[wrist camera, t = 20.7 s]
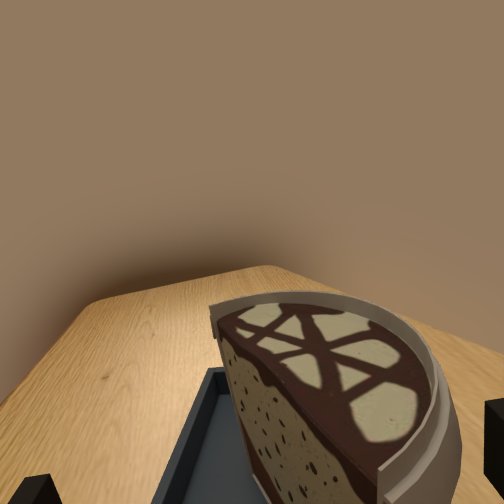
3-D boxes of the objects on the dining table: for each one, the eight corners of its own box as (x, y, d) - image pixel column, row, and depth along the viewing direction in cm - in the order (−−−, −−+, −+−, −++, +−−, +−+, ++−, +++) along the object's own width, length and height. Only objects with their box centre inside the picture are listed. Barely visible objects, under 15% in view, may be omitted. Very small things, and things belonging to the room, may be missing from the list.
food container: (544, 617, 12) (567, 368, 9) (419, 765, 10) (400, 491, 7) (324, 410, 23) (304, 267, 20) (240, 456, 21) (205, 302, 18)
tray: (83, 778, 11) (54, 727, 10) (215, 398, 27) (208, 367, 26) (517, 854, 9) (522, 795, 8) (378, 390, 25) (376, 356, 24)
